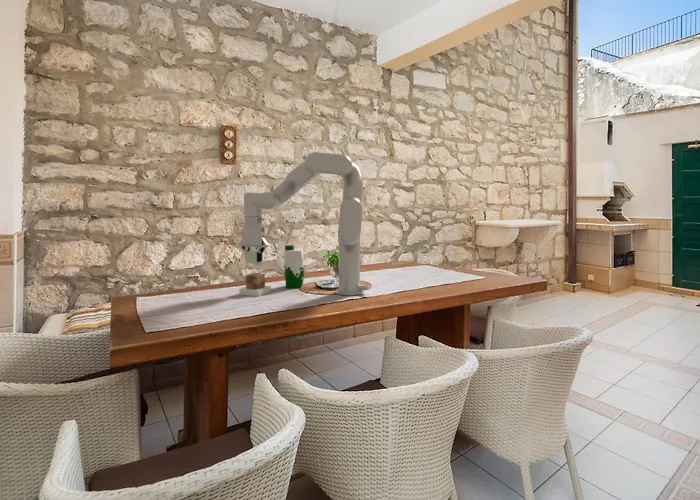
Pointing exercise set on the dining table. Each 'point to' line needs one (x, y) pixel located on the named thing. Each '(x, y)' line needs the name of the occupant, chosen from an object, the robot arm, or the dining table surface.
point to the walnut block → (255, 281)
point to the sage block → (251, 256)
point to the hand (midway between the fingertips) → (254, 261)
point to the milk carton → (294, 267)
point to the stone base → (255, 291)
